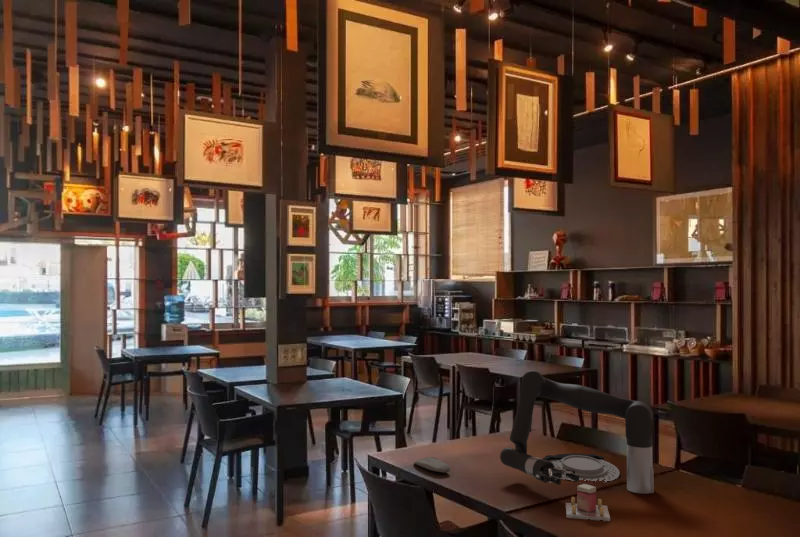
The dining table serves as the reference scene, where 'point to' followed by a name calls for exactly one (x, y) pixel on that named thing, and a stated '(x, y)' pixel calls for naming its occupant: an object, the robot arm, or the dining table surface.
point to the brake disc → (585, 466)
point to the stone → (433, 464)
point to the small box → (586, 497)
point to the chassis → (597, 514)
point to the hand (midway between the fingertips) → (569, 480)
